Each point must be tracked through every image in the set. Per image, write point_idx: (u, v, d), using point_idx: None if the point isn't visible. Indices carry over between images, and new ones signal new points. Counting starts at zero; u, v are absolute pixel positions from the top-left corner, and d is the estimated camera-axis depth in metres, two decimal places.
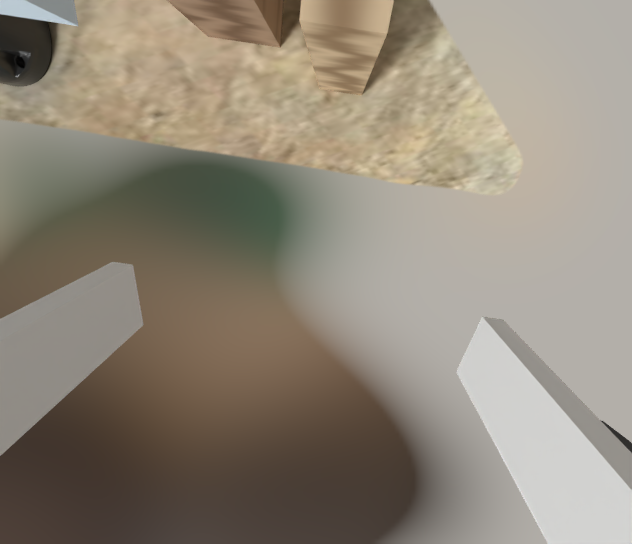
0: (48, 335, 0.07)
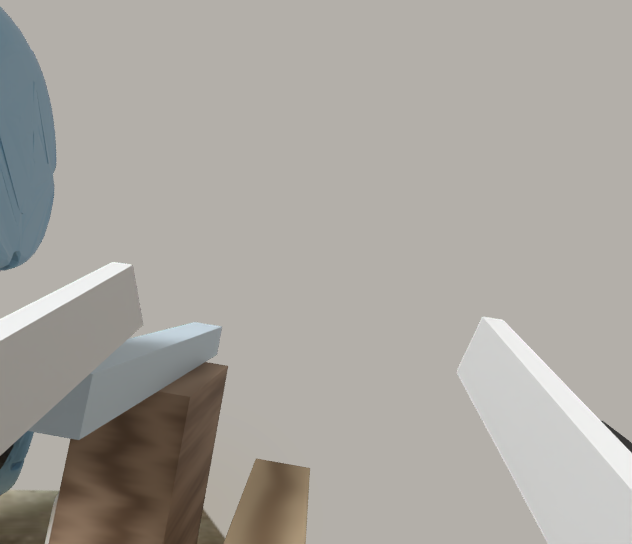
0: (48, 336, 0.07)
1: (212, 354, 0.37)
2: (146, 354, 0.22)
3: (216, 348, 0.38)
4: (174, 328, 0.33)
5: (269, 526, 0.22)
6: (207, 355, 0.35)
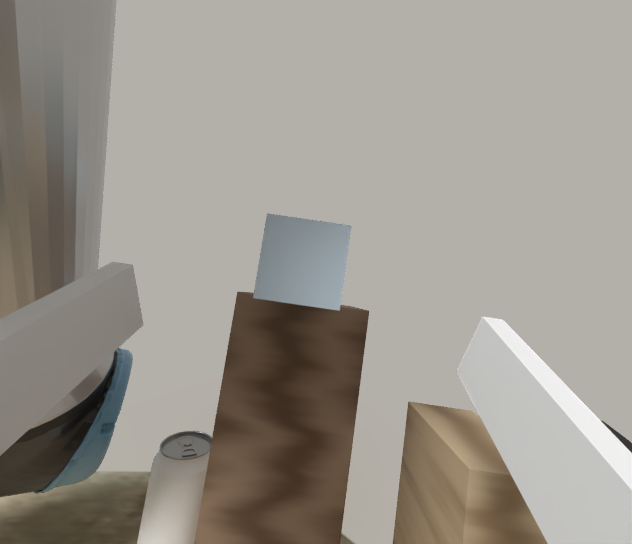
0: (47, 336, 0.07)
1: None
2: None
3: None
4: None
5: (496, 455, 0.18)
6: None
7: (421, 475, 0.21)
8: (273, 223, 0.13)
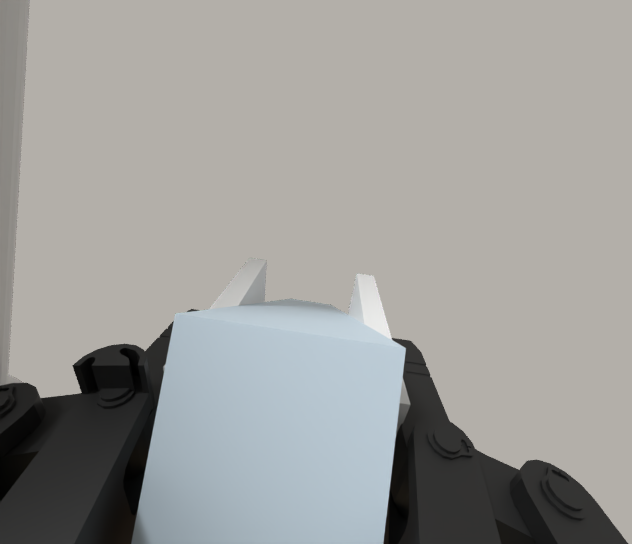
0: None
1: None
2: (358, 321, 0.10)
3: None
4: (288, 300, 0.21)
5: None
6: None
7: None
8: (191, 342, 0.05)
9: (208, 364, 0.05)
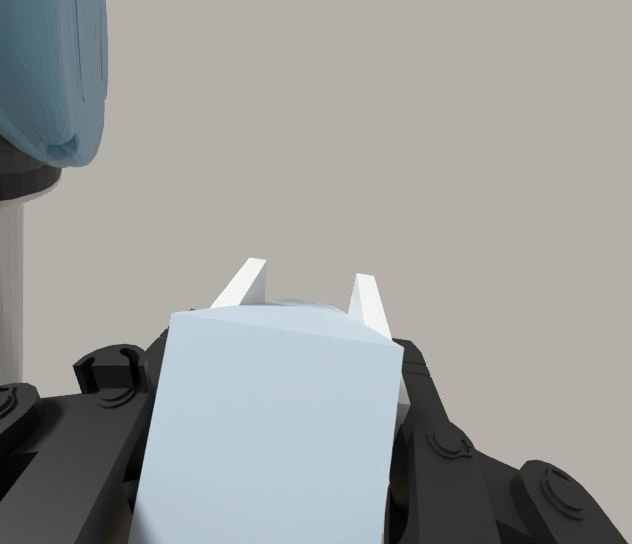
0: None
1: None
2: (356, 321, 0.10)
3: None
4: (287, 300, 0.20)
5: None
6: None
7: None
8: (188, 341, 0.05)
9: (205, 364, 0.05)
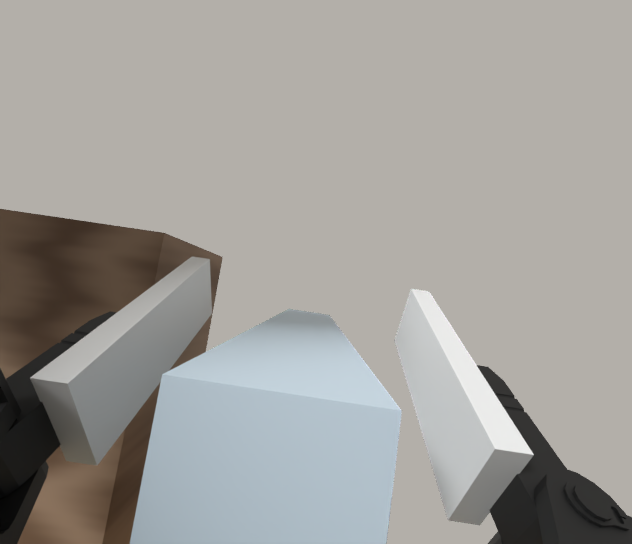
0: (163, 317, 0.08)
1: None
2: (354, 350, 0.10)
3: None
4: (285, 313, 0.20)
5: None
6: None
7: None
8: (179, 405, 0.04)
9: (196, 428, 0.04)
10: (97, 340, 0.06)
